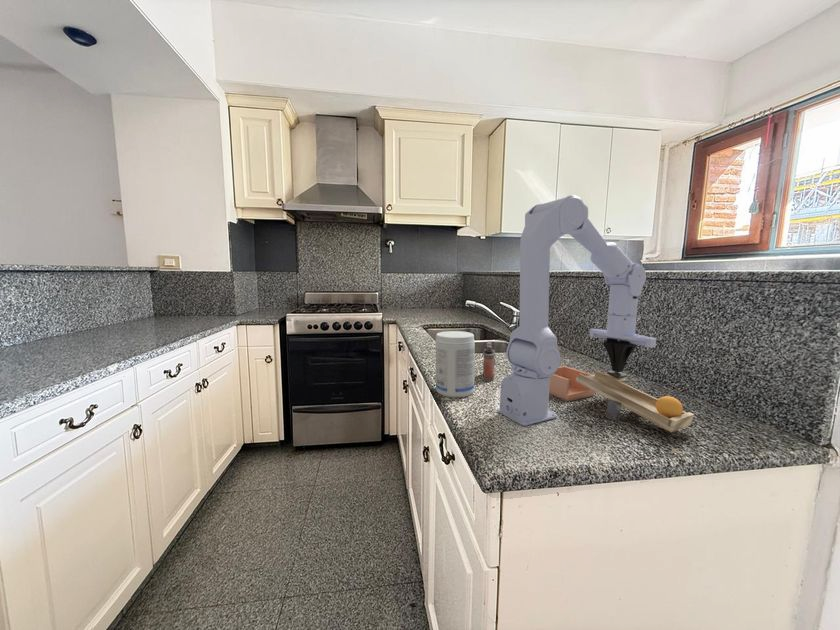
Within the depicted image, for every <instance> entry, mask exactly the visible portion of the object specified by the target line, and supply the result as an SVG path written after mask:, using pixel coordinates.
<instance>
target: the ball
mask: <svg viewBox="0 0 840 630" xmlns="http://www.w3.org/2000/svg"><path fill="white" fill-rule="evenodd" d="M657 399H658V400H657V402H656V409H657V411H658V413H660V414H662V415H664V416H666V417H668V418H673V417H676V416H679V415H681V414H682V411H684V409H683V405H682V403H681V401H679V400H678V399H677V398H675V397H673V396H669V395H665V396H662V397H659V398H657Z"/></svg>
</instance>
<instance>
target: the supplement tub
mask: <svg viewBox="0 0 840 630" xmlns="http://www.w3.org/2000/svg"><path fill="white" fill-rule="evenodd" d="M475 346H476V345H475V335H474V334H473V333H472V332H470V331H469V332H468V331H463V330H462V331H461V330H460V331H459V330H454V331H453V330H451V331H450V330H448V331H440V332H437V333H436V335H435V390H436V392H437V393H438V394H440V395H441V396H444V397H448V398H452V399H453V398H455V399H456V398H465V397H468V396H470V395H472V394H473V393H474V391H475V351H476V347H475Z"/></svg>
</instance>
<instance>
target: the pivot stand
mask: <svg viewBox="0 0 840 630" xmlns="http://www.w3.org/2000/svg"><path fill="white" fill-rule="evenodd" d="M606 407H607V409H606V418H607V419H609V420H611V421H614V422H618V421H621V410H622V409H621V408H622V406H621V403H620V402H617V401H614V400H610V399H609V400H607V405H606Z"/></svg>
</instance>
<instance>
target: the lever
mask: <svg viewBox="0 0 840 630" xmlns="http://www.w3.org/2000/svg"><path fill="white" fill-rule="evenodd" d="M627 378H628V374H627V373H624V372H623V371H622V372H615V371H612V369H611V370H607V373H605V372H602V371H599V370H595V373H594V374H593V375H589V376H585V375H583V374H579V376H578V378H576V382H578V383H580V384H582V385H584V386H586V387H588V388H590V389H591V390H593V391H595V393H597V394H599V395H601V396H603V397H605V398H607V399H609V400H614V401H617V402H620V403H621V407H623V408H625V409H627V410H629V411H630V412H633V413H634V414H636V415H638V416H640V417H642V418H644V419H646V420H647V421H649V422H650V423H653V424H655V425H657V427H658V426H659V427H660V428H663V429H664V430H666V431H668V432H670V433H672V432H676V431H678V430H681V429H684V428H686V427H689V426H691V424H692V422H693V419H694V416H695V413H692V412H689V411H688V412H686V411H684V410H683V411H682V414H681V415H679V416H676V417H673V418H668V417H666V416H664V415H662V414H660V413H658V411H657V409H656V402H657V400H658V399H659V398H657V397H654V396H652V395H651V394H648V393H646V392H645V391H642V390H639V389H638V388H635V387H633V386H630V385H629V384H627V383H624V381H626V380H627Z"/></svg>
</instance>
